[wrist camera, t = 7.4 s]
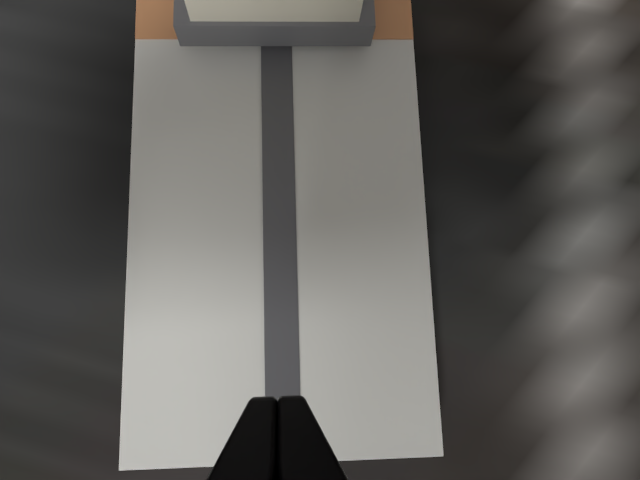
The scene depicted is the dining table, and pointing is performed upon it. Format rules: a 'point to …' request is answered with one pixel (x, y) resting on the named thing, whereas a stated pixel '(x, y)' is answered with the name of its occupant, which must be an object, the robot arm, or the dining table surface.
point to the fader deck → (276, 244)
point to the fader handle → (274, 22)
